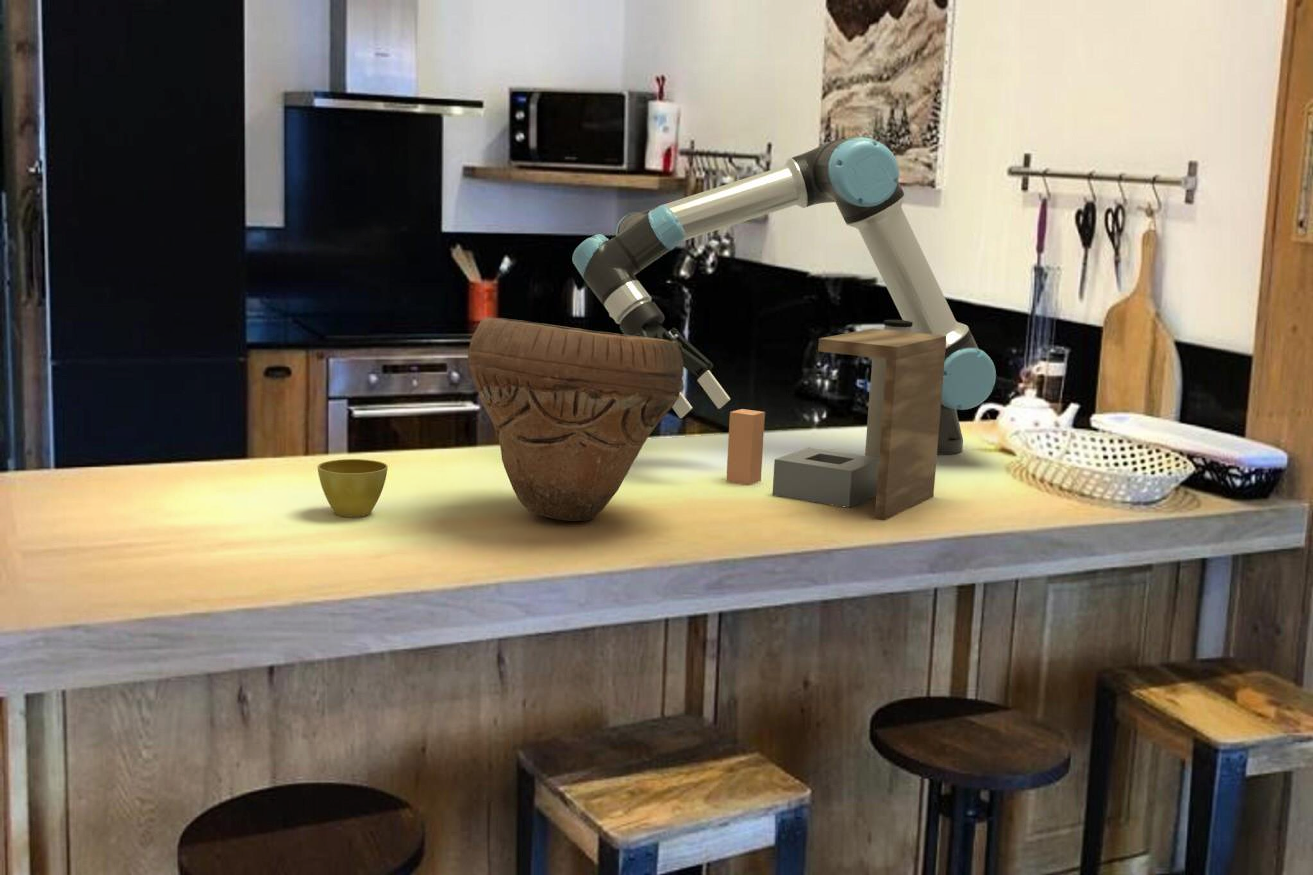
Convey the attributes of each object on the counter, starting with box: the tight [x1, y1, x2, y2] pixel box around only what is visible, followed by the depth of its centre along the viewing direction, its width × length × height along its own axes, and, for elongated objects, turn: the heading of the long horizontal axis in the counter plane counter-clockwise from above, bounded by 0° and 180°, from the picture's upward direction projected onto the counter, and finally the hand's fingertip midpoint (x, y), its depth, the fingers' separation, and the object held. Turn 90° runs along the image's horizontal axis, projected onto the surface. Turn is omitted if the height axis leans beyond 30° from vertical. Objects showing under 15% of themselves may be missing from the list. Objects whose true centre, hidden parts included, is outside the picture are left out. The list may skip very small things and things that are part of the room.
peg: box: [725, 408, 766, 486], centre depth 252 cm, size 4×4×12 cm
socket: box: [771, 447, 879, 508], centre depth 245 cm, size 14×14×6 cm
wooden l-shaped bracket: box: [817, 328, 947, 521], centre depth 239 cm, size 13×22×27 cm, turn 150°
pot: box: [467, 316, 685, 522], centre depth 220 cm, size 32×32×30 cm
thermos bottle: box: [864, 319, 913, 458], centre depth 258 cm, size 8×8×28 cm
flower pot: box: [317, 458, 389, 518], centre depth 217 cm, size 10×10×7 cm
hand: (706, 408), depth 254 cm, fingers open, 13 cm apart
